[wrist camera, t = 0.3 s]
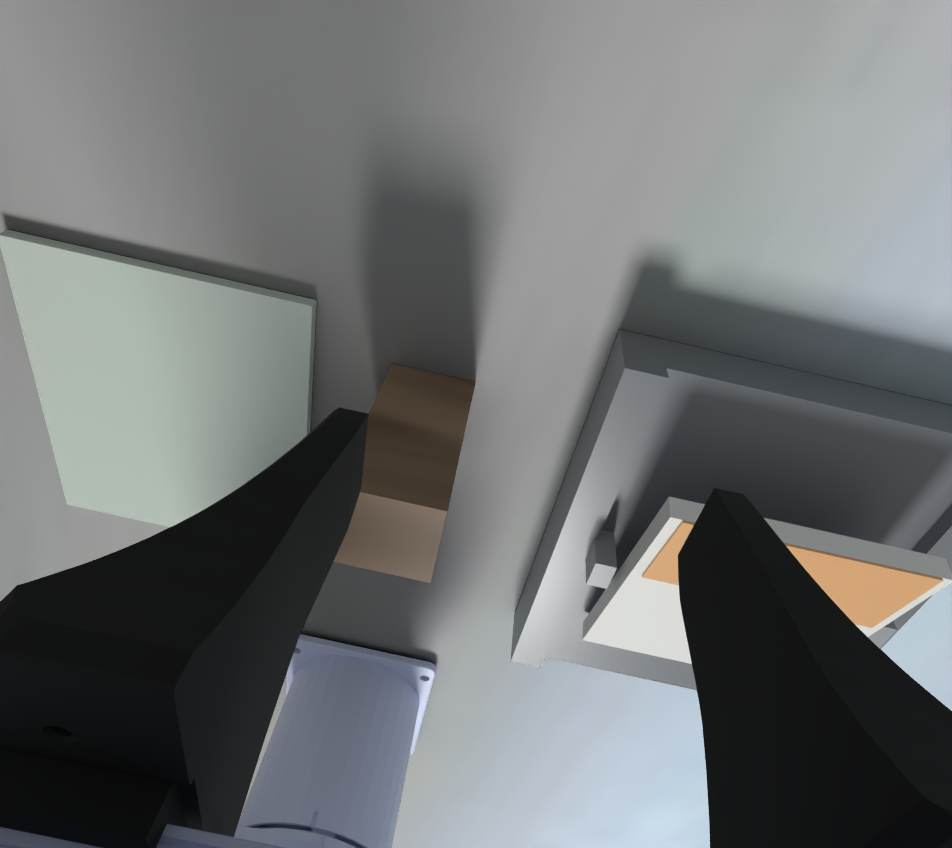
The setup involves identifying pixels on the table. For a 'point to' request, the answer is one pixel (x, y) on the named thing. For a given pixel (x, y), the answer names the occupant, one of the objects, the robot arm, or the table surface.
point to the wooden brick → (407, 473)
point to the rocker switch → (821, 553)
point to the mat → (158, 376)
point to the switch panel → (727, 478)
